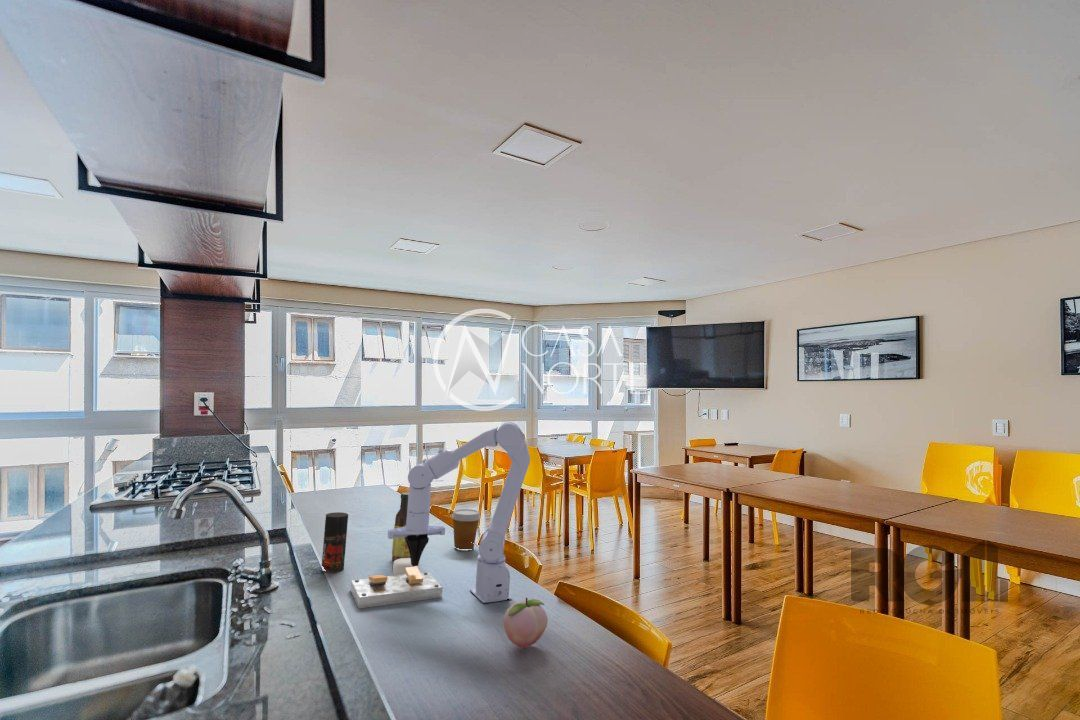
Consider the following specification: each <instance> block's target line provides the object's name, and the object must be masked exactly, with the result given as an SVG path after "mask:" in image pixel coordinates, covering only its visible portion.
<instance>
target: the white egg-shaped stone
mask: <svg viewBox="0 0 1080 720" xmlns="http://www.w3.org/2000/svg"><path fill="white" fill-rule="evenodd" d="M420 562H421V561H420V560H419V564H418V566H417V567H418V569H419V570H420ZM392 567H393V568H392V576H396V575H405V574H406V573H405V568H406V567H416V566H412V565H411V558H401V559H397V560H395V561H393V566H392Z"/></svg>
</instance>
